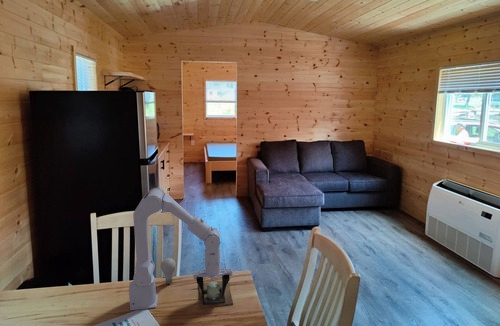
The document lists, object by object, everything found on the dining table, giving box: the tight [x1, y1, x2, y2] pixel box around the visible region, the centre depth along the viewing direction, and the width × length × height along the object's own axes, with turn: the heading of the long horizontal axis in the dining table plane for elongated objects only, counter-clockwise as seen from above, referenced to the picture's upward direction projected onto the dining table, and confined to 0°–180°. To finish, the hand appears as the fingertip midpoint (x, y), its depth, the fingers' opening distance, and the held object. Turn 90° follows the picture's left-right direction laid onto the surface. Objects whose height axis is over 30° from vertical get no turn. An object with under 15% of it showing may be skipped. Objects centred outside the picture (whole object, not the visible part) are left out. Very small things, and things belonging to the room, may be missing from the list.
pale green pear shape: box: [207, 281, 220, 300], centre depth 138 cm, size 6×5×5 cm
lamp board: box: [198, 280, 234, 309], centre depth 141 cm, size 12×16×1 cm
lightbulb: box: [160, 257, 177, 285], centre depth 148 cm, size 6×6×11 cm
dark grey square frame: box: [202, 288, 225, 305], centre depth 138 cm, size 8×8×1 cm
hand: (213, 293), depth 138 cm, fingers open, 7 cm apart
